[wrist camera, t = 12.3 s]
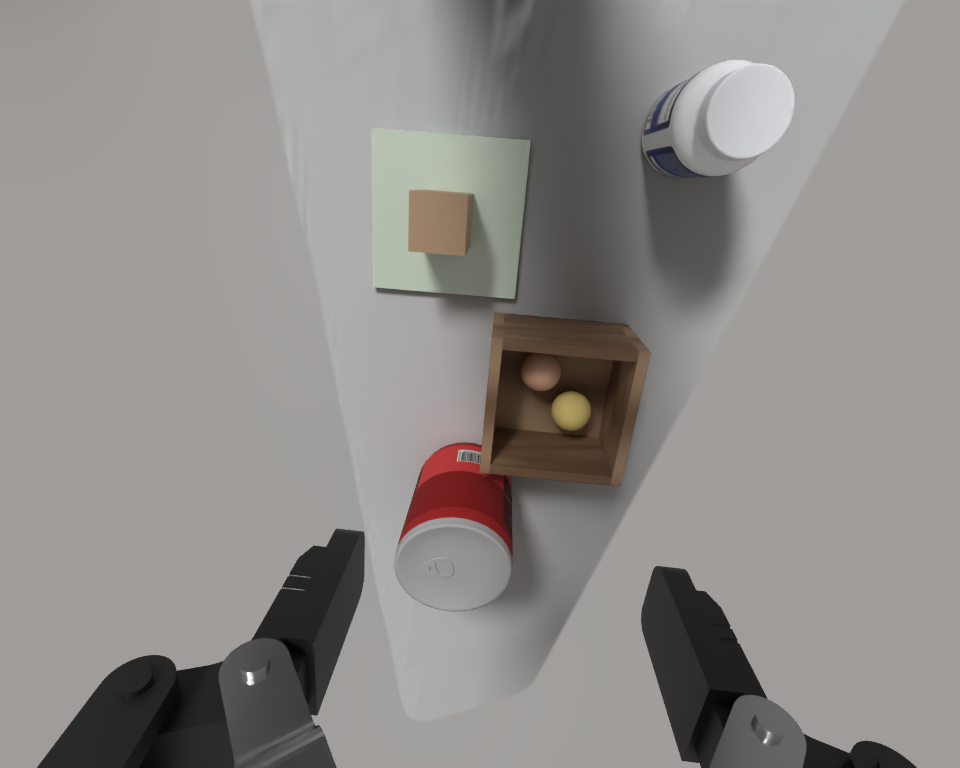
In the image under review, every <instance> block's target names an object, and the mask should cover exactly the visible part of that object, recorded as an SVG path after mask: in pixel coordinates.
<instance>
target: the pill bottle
mask: <svg viewBox="0 0 960 768" xmlns="http://www.w3.org/2000/svg"><path fill="white" fill-rule="evenodd" d="M794 106H795V98H794V91H793V88H792V85H791V83H790V81H789V79H788V78H787V77H786V75H785V74H784V73H783V72H782V71H780V70H779V69H778V68H776V67H774V66H771V65H767V64H755V63H752V62H749V61H745V60H728V61H724V62H720V63H717V64H715V65H712V66H710V67H708V68H706V69H704V70H702V71H701V72H699V73H697V74H696V75H694V76H692V77H690V78H689V79H687V80H685V81H684V82H682V83H680V84H678V85H676V86H675V87H673V88H671V89H670V90H668V91H667V92H665V93H664V94H663V95H662V96H660V97H659V98H658V99H657V100H656V102H655V103H654V104H653V105H652V107H651V108H650V110H649V111H648V113H647V115H646V118H645V120H644V123H643V128H642V148H643V151H644V154H645V156H646V158H647V160H648V162H649V163H650V164H651V166H652V167H653V168H654V169H655V170H657V171H658V172H660V173H662V174H664V175H667V176H670V177H676V178H685V177H713V176H722V175H727V174H731V173H734V172H736V171H739V170H741V169H743V168H744V167H746V166H748V165H749V164H750V163H752V162H753V161H754V160H755V159H756V158H758V157H759V156H760V155H761V154H763V153H765V152H767V151H768V150H769V149H771V148H772V147H773V146H774V145H776V144H777V143H778V141H779V140H780V139H781V138H782V137H783V135H784V134H785V132H786V131H787V129H788V127H789V125H790V122H791V120H792V116H793V112H794Z"/></svg>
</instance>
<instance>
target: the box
mask: <svg viewBox="0 0 960 768" xmlns="http://www.w3.org/2000/svg"><path fill="white" fill-rule="evenodd" d="M530 353H543V354H553V355H554V356H555V357H556V358H557V359H558V360H559V362H560V365H561V377H560V379H559V381H558V383H557V384H556V385H555V386H554V387H553V388H551V389H549V390H546V391H536V390H533V389H531V388H529V387H528V386H527V385H526V384H525V383H524V382H523V380H522V377H521V372H520V371H521V365H522V362H523V360H524V359H525V358H526V357H527V356H528V355H529V354H530ZM650 354H651V353H650V351H649V350H648V349H647V348H646V347H645V345H644V344H643V343H642V342H641V341H640V339H639V338H638V337H637V336H636V334H635V333H634V332H633V331H632V330H631V328H630V327H629V326H628V325H624V324H614V323H603V322H592V321H581V320H570V319H559V318H549V317H538V316H527V315H516V314H505V313H495V314H494V324H493V334H492V344H491V355H490V366H489V376H488V387H487V398H486V408H485V419H484V429H483V440H482V451H481V461H480V472H479V473H488V474H498V475H509V476H519V477H529V478H539V479H549V480H559V481H570V482H580V483H590V484H600V485H610V486H621V481H622V477H623V473H624V468H625V464H626V459H627V455H628V451H629V446H630V442H631V437H632V433H633V429H634V424H635V420H636V415H637V411H638V407H639V402H640V398H641V393H642V389H643V385H644V380H645V376H646V371H647V367H648V363H649V358H650ZM568 391H575V392H578V393H581V394H582V395H584V396H585V397H586V398H587V399H588V401H589V403H590V405H591V417H590V419H589V421H588V423H587V424H586V425H585V426H584V427H582V428H581V429H578V430H574V431H569V430H565V429H562V428H561V427H559V426H558V425H557V424H556V423H555V421H554V420H553V417H552V414H551V408H552V404H553V402H554V400H555V399H556V398H557V396H559V395H560V394H562V393H564V392H568Z"/></svg>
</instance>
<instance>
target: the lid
mask: <svg viewBox="0 0 960 768" xmlns="http://www.w3.org/2000/svg"><path fill="white" fill-rule="evenodd" d="M530 144H531V140H522V139H509V138H496V137H483V136H471V135H458V134H445V133H432V132H420V131H407V130H394V129H381V128H371V167H372V266H373V287H376V288H388V289H400V290H412V291H424V292H436V293H448V294H459V295H471V296H483V297H495V298H507V299H515V291H516V281H517V271H518V261H519V252H520V242H521V232H522V222H523V212H524V203H525V193H526V183H527V173H528V163H529V154H530Z"/></svg>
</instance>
